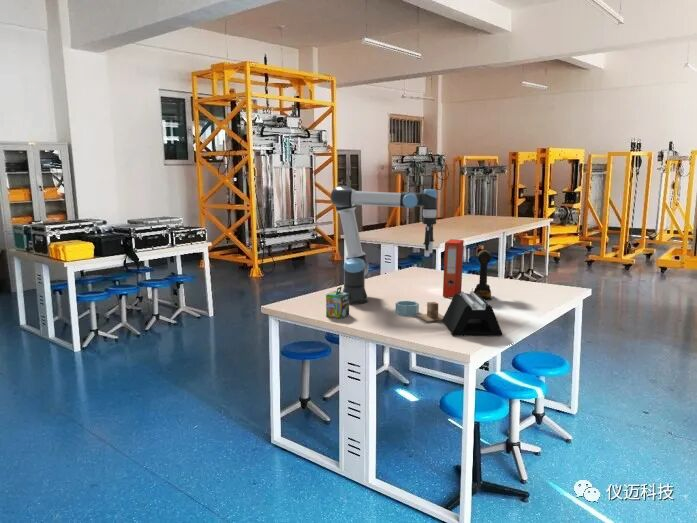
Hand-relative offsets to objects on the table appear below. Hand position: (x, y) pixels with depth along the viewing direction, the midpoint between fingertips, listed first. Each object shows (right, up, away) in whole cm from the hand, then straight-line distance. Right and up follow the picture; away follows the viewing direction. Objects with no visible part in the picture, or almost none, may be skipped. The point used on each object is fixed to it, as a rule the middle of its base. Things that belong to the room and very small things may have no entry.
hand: (428, 254), depth 319 cm
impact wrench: (+34, -25, +11) cm, 43 cm away
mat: (-4, -33, -42) cm, 53 cm away
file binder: (+16, -24, +16) cm, 33 cm away
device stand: (+12, -35, -57) cm, 68 cm away
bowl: (-15, -31, -30) cm, 45 cm away
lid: (-4, -32, -42) cm, 53 cm away
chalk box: (-51, -31, -34) cm, 68 cm away
